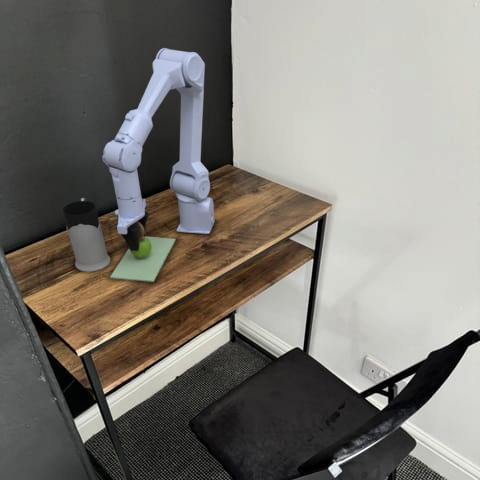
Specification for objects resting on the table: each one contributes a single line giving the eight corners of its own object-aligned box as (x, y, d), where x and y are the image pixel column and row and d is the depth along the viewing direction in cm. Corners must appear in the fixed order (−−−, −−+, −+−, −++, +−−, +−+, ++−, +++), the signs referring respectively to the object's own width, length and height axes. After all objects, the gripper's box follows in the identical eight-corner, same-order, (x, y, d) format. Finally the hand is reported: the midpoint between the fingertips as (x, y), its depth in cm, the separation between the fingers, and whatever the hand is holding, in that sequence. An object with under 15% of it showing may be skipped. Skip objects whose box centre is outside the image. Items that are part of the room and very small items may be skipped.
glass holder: (74, 273, 114) (57, 218, 104) (78, 244, 125) (63, 191, 115) (110, 269, 115) (97, 214, 106) (110, 240, 126) (99, 188, 116)
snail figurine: (139, 245, 122) (131, 205, 113) (157, 254, 119) (150, 213, 110) (124, 255, 119) (115, 215, 110) (142, 264, 116) (134, 223, 107)
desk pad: (175, 239, 126) (175, 238, 126) (153, 282, 111) (153, 280, 111) (137, 237, 127) (137, 235, 127) (110, 278, 112) (109, 276, 112)
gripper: (123, 180, 113) (131, 230, 122) (99, 207, 102) (111, 259, 111) (150, 182, 112) (157, 231, 121) (130, 209, 101) (139, 262, 110)
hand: (137, 245), depth 116 cm, fingers closed on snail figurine, 4 cm apart
